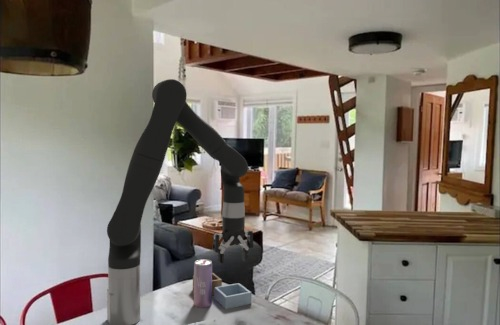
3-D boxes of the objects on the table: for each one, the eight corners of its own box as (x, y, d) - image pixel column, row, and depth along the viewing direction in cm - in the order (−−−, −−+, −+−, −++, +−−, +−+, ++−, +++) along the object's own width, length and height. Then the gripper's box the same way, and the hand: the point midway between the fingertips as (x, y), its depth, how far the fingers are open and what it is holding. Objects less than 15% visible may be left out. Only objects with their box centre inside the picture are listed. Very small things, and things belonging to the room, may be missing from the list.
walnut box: (200, 300, 131) (200, 283, 130) (192, 292, 138) (192, 275, 137) (221, 296, 134) (221, 279, 134) (213, 288, 141) (213, 272, 141)
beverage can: (213, 303, 128) (213, 259, 128) (209, 310, 122) (210, 265, 122) (196, 302, 129) (196, 258, 128) (191, 309, 123) (192, 264, 122)
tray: (225, 311, 122) (225, 297, 122) (214, 300, 131) (214, 287, 130) (251, 305, 127) (251, 292, 126) (238, 295, 135) (239, 283, 135)
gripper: (218, 218, 121) (218, 268, 121) (257, 215, 127) (256, 262, 128) (209, 214, 127) (209, 262, 128) (247, 211, 134) (246, 256, 135)
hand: (233, 262), depth 128 cm, fingers open, 8 cm apart
